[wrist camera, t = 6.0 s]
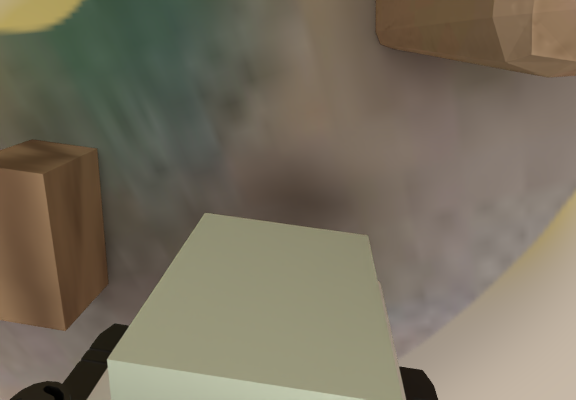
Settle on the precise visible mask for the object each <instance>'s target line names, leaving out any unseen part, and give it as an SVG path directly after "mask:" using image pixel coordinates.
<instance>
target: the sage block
mask: <svg viewBox="0 0 576 400" xmlns="http://www.w3.org/2000/svg"><path fill="white" fill-rule="evenodd" d="M107 364H108V374H109V383H110V393H111V400H403V399H402V394H401V389H400V385H399V380H398V375H397V370H396V366H395V361H394V356H393V352H392V347H391V342H390V337H389V333H388V328H387V323H386V318H385V314H384V309H383V304H382V299H381V295H380V290H379V285H378V280H377V276H376V271H375V266H374V261H373V257H372V252H371V247H370V242H369V238H368V235H361V234H354V233H347V232H340V231H333V230H325V229H318V228H311V227H304V226H297V225H289V224H282V223H275V222H268V221H261V220H254V219H246V218H239V217H232V216H225V215H218V214H211V213H204V215H203V216H202V218H201V219H200V221H199V222H198V224H197V225H196V227H195V228H194V230H193V231H192V233H191V234H190V236H189V237H188V239H187V240H186V242H185V243H184V245H183V246H182V248H181V249H180V251H179V252H178V254H177V255H176V257H175V258H174V260H173V261H172V263H171V264H170V266H169V267H168V269H167V270H166V272H165V273H164V275H163V276H162V278H161V279H160V281H159V282H158V284H157V285H156V287H155V288H154V290H153V291H152V293H151V294H150V296H149V297H148V299H147V300H146V302H145V303H144V305H143V306H142V308H141V309H140V311H139V312H138V314H137V315H136V317H135V318H134V320H133V321H132V323H131V324H130V326H129V327H128V329H127V330H126V332H125V333H124V335H123V336H122V338H121V339H120V341H119V342H118V344H117V345H116V347H115V348H114V350H113V351H112V353H111V354H110V356H109V357H108V359H107Z"/></svg>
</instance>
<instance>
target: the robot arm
mask: <svg viewBox="0 0 576 400" xmlns="http://www.w3.org/2000/svg"><path fill="white" fill-rule="evenodd" d="M378 285H379V290H380V295H381V299H382V304H383V309H384V314H385V318H386V323H387V328H388V333H389V337H390V342H391V347H392V352H393V356H394V361H395V366H396V370H397V375H398V380H399V385H400V389H401V394H402V399H403V400H438V398H437V395H436V391H435V388H434V385H433V384H432V382H431V381H430V379H429V378H428V377H427V375H426V374H425V373H424V371H423V370H418V369H412V368H406V367H399V365H398V360H397V356H396V351H395V346H394V342H393V337H392V333H391V328H390V324H389V319H388V315H387V310H386V306H385V301H384V296H383V292H382V287H381V283H380V281H378ZM128 327H129V326H127V325H121V324H114V325H112V326H111V327H109V328H108V329H106V330H105V331H104V332H102V333H101V334H100V335H99V336H98V337H97V339H96V340H95V341H94V343H93V344H92V345H91V347H90V349H89V350H88V351H87V352H86V353H85V355H84V356H83V357H82V359H81V361H79V363H78V364H77V365H76V367H75V368H74V369H73V370H72V372H71V373H70V374H69V376H68V377H67V378H66V380H65V381H64V382H63V384H61V383H59V382H52V381H46V382H41V383H36V384H33V385H31V386H29V387H27V388H25V389H23V390H21V391H20V392H18V393H17V394H16V395H15V396H13V397H12V398H11V399H10V400H111V393H110V383H109V374H108V364H107V359H108V357H109V356H110V354H111V353H112V351H113V350H114V348H115V347H116V345H117V344H118V342H119V341H120V339H121V338H122V336H123V335H124V333H125V332H126V330H127V329H128Z"/></svg>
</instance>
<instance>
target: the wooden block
mask: <svg viewBox="0 0 576 400" xmlns="http://www.w3.org/2000/svg"><path fill="white" fill-rule="evenodd" d="M376 34H377V36H378V39H379V41H380V44H381V45H384V46H387V47H390V48H392V49H397V50H403V51H408V52H414V53H419V54H424V55H430V56H435V57H441V58H446V59H451V60H457V61H462V62H467V63H473V64H478V65H484V66H489V67H494V68H500V69H505V70H511V71H516V72H521V73H527V74H532V75H537V76H543V77H562V76H576V0H376Z"/></svg>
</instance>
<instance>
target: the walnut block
mask: <svg viewBox="0 0 576 400" xmlns="http://www.w3.org/2000/svg"><path fill="white" fill-rule="evenodd" d="M107 285H108V272H107V260H106V248H105V236H104V224H103V213H102V201H101V189H100V177H99V165H98V153H97V149H96V148H89V147H82V146H75V145H68V144H61V143H54V142H47V141H39V140H29V141H26V142H23V143H20V144H17V145H14V146H11V147H8V148H5V149H2V150H0V320H3V321H9V322H15V323H21V324H27V325H33V326H39V327H45V328H51V329H57V330H63V331H66V330H67V329H68V328H69V327H70V326H71V324H72V323H73V322H74V321H75V320H76V319H77V318H78V317H79V316H80V315H81V313H82V312H83V311H84V310H85V309H86V308H87V307H88V306H89V305H90V304H91V302H92V301H93V300H94V299H95V298H96V297H97V296H98V295H99V294H100V293H101V291H102V290H103V289H104V288H105V287H106V286H107Z"/></svg>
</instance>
